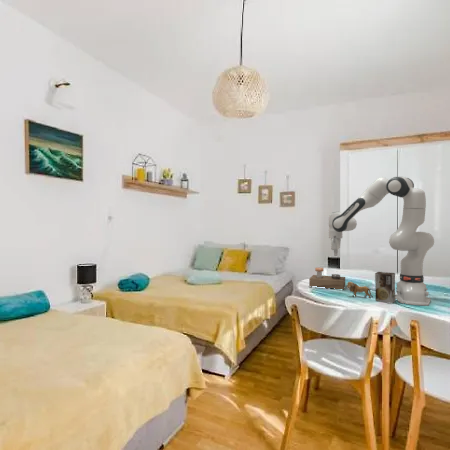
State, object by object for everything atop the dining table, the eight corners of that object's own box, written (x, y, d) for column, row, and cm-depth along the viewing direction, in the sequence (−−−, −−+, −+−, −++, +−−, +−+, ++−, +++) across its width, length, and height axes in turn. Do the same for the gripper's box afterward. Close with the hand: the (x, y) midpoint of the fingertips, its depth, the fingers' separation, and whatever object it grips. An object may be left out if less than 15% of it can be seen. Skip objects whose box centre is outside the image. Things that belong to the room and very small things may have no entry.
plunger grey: (339, 287, 213) (339, 275, 213) (331, 286, 216) (331, 275, 215) (340, 285, 218) (340, 274, 218) (332, 285, 221) (332, 273, 221)
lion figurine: (347, 297, 189) (346, 282, 189) (346, 295, 194) (346, 280, 194) (374, 299, 184) (373, 283, 183) (373, 297, 189) (373, 282, 188)
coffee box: (395, 301, 178) (395, 272, 178) (392, 303, 174) (392, 274, 173) (378, 298, 184) (378, 271, 184) (374, 300, 180) (374, 272, 180)
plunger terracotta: (322, 280, 218) (322, 268, 218) (314, 279, 220) (314, 268, 220) (324, 278, 223) (324, 267, 223) (315, 278, 225) (315, 267, 225)
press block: (343, 290, 207) (343, 281, 207) (309, 287, 217) (309, 278, 217) (345, 285, 222) (345, 276, 222) (313, 283, 231) (313, 274, 231)
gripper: (338, 236, 206) (339, 257, 206) (341, 235, 224) (342, 254, 224) (328, 236, 208) (329, 257, 208) (332, 235, 227) (332, 254, 227)
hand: (335, 255), depth 216 cm, fingers closed
